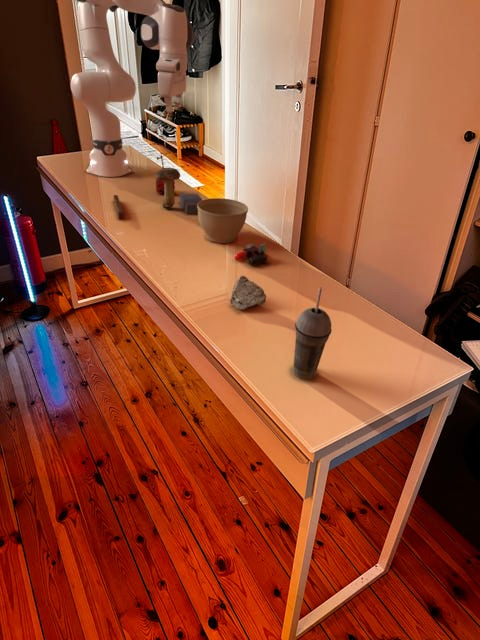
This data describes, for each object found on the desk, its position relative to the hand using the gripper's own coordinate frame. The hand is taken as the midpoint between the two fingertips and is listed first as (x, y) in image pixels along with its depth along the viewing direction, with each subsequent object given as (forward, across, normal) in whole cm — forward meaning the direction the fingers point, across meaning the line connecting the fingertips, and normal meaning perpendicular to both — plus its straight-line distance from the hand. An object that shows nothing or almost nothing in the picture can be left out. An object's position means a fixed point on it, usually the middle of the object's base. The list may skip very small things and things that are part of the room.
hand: (173, 109), depth 163 cm
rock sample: (+35, +65, +39) cm, 83 cm away
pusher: (+33, +2, +8) cm, 34 cm away
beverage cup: (+35, +89, +55) cm, 111 cm away
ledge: (+33, +15, -16) cm, 40 cm away
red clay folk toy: (+33, -10, -7) cm, 35 cm away
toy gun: (+34, +38, +35) cm, 62 cm away
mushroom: (+33, +6, 0) cm, 34 cm away
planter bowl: (+34, +25, +24) cm, 49 cm away
